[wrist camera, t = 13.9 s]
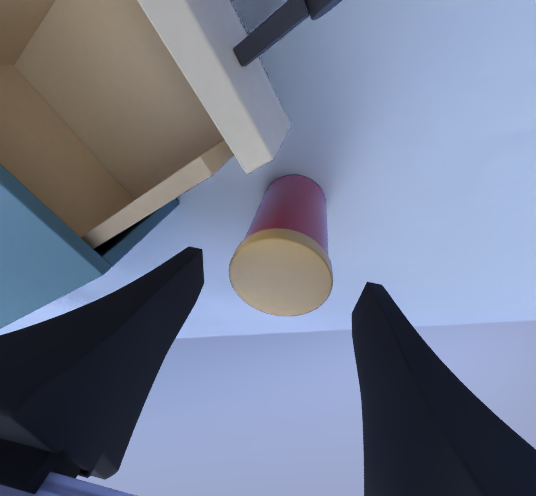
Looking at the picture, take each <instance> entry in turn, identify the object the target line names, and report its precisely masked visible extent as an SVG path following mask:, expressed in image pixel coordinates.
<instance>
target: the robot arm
mask: <svg viewBox="0 0 536 496" xmlns="http://www.w3.org/2000/svg"><path fill="white" fill-rule="evenodd" d="M203 284H204V272H203V254H202V249H199V248H194V247H188V248H186V249H184V250H183V251H181V252H180V253H178V254H177V255H175V256H174V257H172V258H171V259H169V260H168V261H166V262H165V263H163V264H161V265H160V266H158V267H157V268H155V269H154V270H152V271H150V272H149V273H147V274H145V275H144V276H142V277H140V278H138V279H137V280H135V281H133V282H131V283H130V284H128V285H126V286H124V287H122V288H121V289H119V290H117V291H115V292H113V293H111V294H109V295H106V296H104V297H102V298H100V299H98V300H96V301H94V302H91V303H89V304H87V305H84V306H82V307H79V308H77V309H75V310H72V311H70V312H67V313H65V314H62V315H60V316H57V317H54V318H52V319H49V320H46V321H43V322H41V323H38V324H35V325H32V326H29V327H26V328H23V329H20V330H17V331H14V332H10V333H7V334H4V335H0V496H135V495H132V494H128V493H125V492H121V491H118V490H114V489H111V488H107V487H104V486H100V485H96V484H93V483H89V482H86V481H82V480H78V479H76V477H77V475H79V476H83V477H86V478H88V477H89V476H94V477H98V478H102V479H107V478H109V477H111V476H112V475H114V474H115V473H116V472H117V471H118V470H119V467H120V465H121V462H122V459H123V457H124V454H125V451H126V449H127V446H128V443H129V441H130V438H131V436H132V433H133V430H134V428H135V425H136V423H137V420H138V418H139V416H140V413H141V411H142V408H143V406H144V403H145V401H146V399H147V396H148V394H149V391H150V389H151V387H152V384H153V382H154V380H155V378H156V376H157V373H158V371H159V369H160V367H161V365H162V363H163V360H164V358H165V356H166V354H167V352H168V350H169V348H170V346H171V345H172V343H173V341H174V339H175V338H176V336H177V334H178V333H179V331H180V329H181V327H182V326H183V324H184V322H185V321H186V319H187V317H188V315H189V314H190V312H191V310H192V308H193V307H194V305H195V303H196V301H197V299H198V296H199V294H200V292H201V289H202V287H203ZM352 337H353V345H354V352H355V358H356V364H357V371H358V378H359V384H360V392H361V400H362V418H363V441H364V443H363V444H364V496H536V450H535V449H534V448H533V447H532V446H531V445H530V444H528V443H527V442H526V441H525V440H524V439H523V438H521V437H520V436H519V435H518V434H517V433H516V432H514V431H513V430H512V429H511V428H510V427H509V426H508V425H506V424H505V423H504V422H503V421H502V420H501V419H500V418H499V417H498V416H496V415H495V414H494V413H493V412H492V411H491V410H490V409H489V408H488V407H487V406H486V405H485V404H484V403H483V402H481V401H480V400H479V399H478V398H477V397H476V396H475V395H474V394H473V393H472V392H471V391H470V390H469V389H468V388H467V387H466V386H465V385H464V384H463V383H462V382H461V381H460V380H459V379H458V378H457V377H456V376H455V375H454V374H453V373H452V372H451V371H450V369H449V368H448V367H447V366H446V365H445V364H444V363H443V362H442V361H441V360H440V359H439V358H438V356H437V355H436V354H435V353H434V352H433V351H432V349H431V348H430V347H429V346H428V345H427V344H426V342H425V341H424V340H423V339H422V338H421V336H420V335H419V334H418V333H417V331H416V330H415V329H414V327H413V326H412V325H411V324H410V322H409V321H408V320H407V318H406V317H405V316H404V314H403V313H402V312H401V310H400V309H399V307H398V306H397V305H396V303H395V302H394V301H393V299H392V298H391V296H390V295H389V294H388V292H387V291H386V290H385V288H384V287H383V286H382V285H380V284H375V283H370V282H367V283H366V285H365V287H364V289H363V291H362V294H361V296H360V298H359V300H358V302H357V304H356V306H355V308H354V310H353V312H352Z"/></svg>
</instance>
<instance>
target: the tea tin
mask: <svg viewBox="0 0 536 496" xmlns="http://www.w3.org/2000/svg"><path fill="white" fill-rule="evenodd" d="M229 278H230V282H231V284H232V287H233V288H234V290H235V292H236V293H237V294H238V296H239V297H240V298H241V299H242V300H243V301H245V302H246V303H247V304H249V305H250V306H252V307H253V308H255V309H257V310H259V311H262V312H265V313H268V314H272V315H277V316H297V315H302V314H306V313H309V312H311V311H313V310H315V309H317V308H318V307H319V306H321V305H322V304H323V303H324V302H325V301H326V299H327V298H328V296H329V295H330V292H331V290H332V285H333V275H332V265H331V261H330V259H329V257H328V238H327V214H326V199H325V195H324V193H323V191H322V189H321V188H320V187H319V185H318V184H317V183H316V182H314V181H313V180H311V179H309V178H307V177H305V176H301V175H288V176H284V177H281V178H279V179H277V180H276V181H274V182H273V183H272V184H271V185H270V186H269V188H268V189H267V191H266V193H265V195H264V197H263V199H262V202H261V204H260V206H259V208H258V210H257V212H256V215H255V217H254V219H253V221H252V223H251V226H250V228H249V230H248V232H247V234H246V237H245V239H244V240H243V241H242V242H241V243H240V244H239V246H238V247H237V249H236V251H235V253H234V255H233V257H232V259H231V262H230V265H229Z"/></svg>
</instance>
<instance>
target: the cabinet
mask: <svg viewBox="0 0 536 496" xmlns="http://www.w3.org/2000/svg"><path fill="white" fill-rule="evenodd" d="M179 204H180V203H179V202H178V201H177V200H176V198H175V199H174V200H172V201H170V202H169V203H167V204H165V205H164V206H162V207H161V208H159V209H157V210H156V211H154V212H153V213H151V214H149V215H148V216H146V217H144V218H143V219H141V220H140V221H138V222H136V223H135V224H133V225H132V226H130V227H128V228H127V229H125V230H123V231H122V232H120V233H119V234H117V235H115V236H114V237H112V238H110V239H109V240H107V241H106V242H104V243H102V244H101V245H99V246H98V247H96V248H94V249H92V248H91V247H90V246H89V245H88V244H87V243H86V242H85V241H84V240H83V239H82V238H80V237H79V236H78V235H77V234H76V233H75V232H74V231H73V230H72V229H71V228H70V227H69V226H67V225H66V224H65V223H64V222H63V221H62V220H61V219H60V218H59V217H58V216H57V215H56V214H54V213H53V212H52V211H51V210H50V209H49V208H48V207H47V206H46V205H45V204H44V203H43V202H41V201H40V200H39V199H38V198H37V197H36V196H35V195H34V194H33V193H32V192H31V191H29V190H28V189H27V188H26V187H25V186H24V185H23V184H22V183H21V182H20V181H19V180H18V179H16V178H15V177H14V176H13V175H12V174H11V173H10V172H9V171H8V170H7V169H6V168H5V167H3V166H2V165H1V164H0V329H1V328H3V327H5V326H7V325H9V324H10V323H12V322H14V321H16V320H18V319H20V318H22V317H24V316H26V315H28V314H30V313H31V312H33V311H35V310H37V309H39V308H41V307H43V306H45V305H47V304H49V303H51V302H53V301H54V300H56V299H58V298H60V297H62V296H64V295H66V294H68V293H70V292H72V291H74V290H76V289H77V288H79V287H81V286H83V285H85V284H87V283H89V282H91V281H93V280H95V279H97V278H99V277H100V276H102V275H104V274H105V273H106V272H107V271H108V270H109V269H110V268H111V267H112V266H114V265H115V264H116V263H117V262H118V261H119V260H120V259H121V258H122V257H123V256H124V255H125V254H127V253H128V252H129V251H130V250H131V249H132V248H133V247H134V246H135V245H136V244H137V243H138V242H139V241H140V240H142V239H143V238H144V237H145V236H146V235H147V234H148V233H149V232H150V231H151V230H152V229H153V228H154V227H155V226H156V225H158V224H159V223H160V222H161V221H162V220H163V219H164V218H165V217H166V216H167V215H168V214H169V213H170V212H171V211H173V210H174V209H175V208H176V207H177V206H178V205H179Z"/></svg>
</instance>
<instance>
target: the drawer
mask: <svg viewBox="0 0 536 496" xmlns="http://www.w3.org/2000/svg"><path fill="white" fill-rule="evenodd" d="M341 1H342V0H289V1H287V2H286V3H285V4H284V5H283V6H282V7H280V8H279V9H278V10H277V11H276V12H275V13H274V14H272V15H271V16H270V17H269V18H268V19H267V20H265V21H264V22H263V23H262V24H261V25H260V26H258V27H257V28H256V29H255V30H254V31H253V32H252V33H250V34H249V35H247V33H246V31H245V29H244V27H243V25H242V23H241V21H240V19H239V17H238V15H237V13H236V11H235V9H234V7H233V5H232V3H231V1H230V0H0V164H1V165H2V166H3V167H5V168H6V169H7V170H8V171H9V172H10V173H11V174H12V175H13V176H14V177H15V178H16V179H18V180H19V181H20V182H21V183H22V184H23V185H24V186H25V187H26V188H27V189H28V190H29V191H31V192H32V193H33V194H34V195H35V196H36V197H37V198H38V199H39V200H40V201H41V202H43V203H44V204H45V205H46V206H47V207H48V208H49V209H50V210H51V211H52V212H53V213H54V214H56V215H57V216H58V217H59V218H60V219H61V220H62V221H63V222H64V223H65V224H66V225H67V226H69V227H70V228H71V229H72V230H73V231H74V232H75V233H76V234H77V235H78V236H79V237H80V238H82V239H83V240H84V241H85V242H86V243H87V244H88V245H89V246H90V247H91V248H92V249H94V248H96V247H98V246H99V245H101V244H102V243H104V242H106V241H107V240H109V239H110V238H112V237H114V236H115V235H117V234H119V233H120V232H122V231H123V230H125V229H127V228H128V227H130V226H132V225H133V224H135V223H136V222H138V221H140V220H141V219H143V218H144V217H146V216H148V215H149V214H151V213H153V212H154V211H156V210H157V209H159V208H161V207H162V206H164V205H165V204H167V203H169V202H170V201H172V200H174V199H175V198H177V197H178V196H180V195H182V194H183V193H185V192H187V191H188V190H190V189H191V188H193V187H195V186H196V185H198V184H199V183H201V182H203V181H204V180H206V179H208V178H209V177H211V176H212V175H213V174H215V173H216V172H217V171H218V170H219V169H220V168H221V167H222V166H223V165H224V164H225V163H226V162H227V161H228V160H229V159H230V158H231V157H232V156H233V155H235V157H236V158H237V160H238V162H239V163H240V165H241V166H242V168H243V170H244V171H245V173H246V174H249V173H251V172H253V171H255V170H256V169H258V168H260V167H262V166H263V165H265V164H267V163H269V162H270V161H272V160H273V159H274V157H275V155H276V154H277V152H278V150H279V148H280V146H281V144H282V143H283V141H284V139H285V137H286V135H287V133H288V131H289V130H290V128H291V126H292V125H291V123H290V121H289V119H288V117H287V114H286V112H285V110H284V108H283V106H282V104H281V102H280V100H279V98H278V96H277V94H276V92H275V90H274V88H273V86H272V84H271V82H270V80H269V78H268V76H267V74H266V72H265V70H264V68H263V66H262V64H261V62H260V60H259V58H258V56H260V55H261V54H262V53H263V52H265V51H266V50H267V49H268V48H270V47H271V46H272V45H273V44H275V43H276V42H277V41H278V40H280V39H281V38H282V37H283V36H285V35H286V34H287V33H288V32H290V31H291V30H292V29H293V28H294V27H296V26H297V25H298V24H299V23H301V22H302V21H303V20H304V19H306V18H307V17H308V16H309V14H310V16H311V19H312V20H316V19H318V18H320V17H321V16H323V15H324V14H326V13H327V12H328V11H330V10H331V9H332V8H333V7H335V6H336V5H337V4H338V3H339V2H341Z"/></svg>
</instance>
